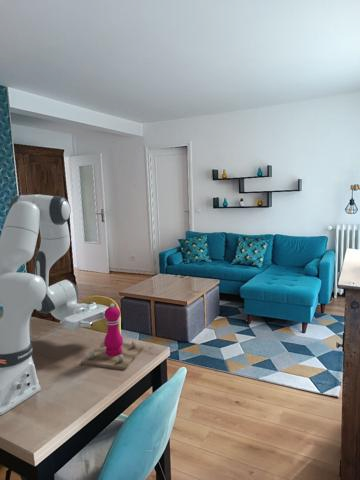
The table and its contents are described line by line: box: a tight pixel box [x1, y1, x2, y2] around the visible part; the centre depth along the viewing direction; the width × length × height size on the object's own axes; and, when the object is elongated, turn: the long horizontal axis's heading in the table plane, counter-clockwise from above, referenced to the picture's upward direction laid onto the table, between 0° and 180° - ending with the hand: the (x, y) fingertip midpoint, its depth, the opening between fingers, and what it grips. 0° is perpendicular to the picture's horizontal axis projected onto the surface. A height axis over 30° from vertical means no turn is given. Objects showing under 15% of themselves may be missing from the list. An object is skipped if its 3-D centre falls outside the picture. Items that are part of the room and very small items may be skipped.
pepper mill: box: [104, 303, 124, 356], centre depth 134 cm, size 7×7×20 cm
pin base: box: [80, 340, 144, 371], centre depth 135 cm, size 18×18×4 cm
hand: (100, 321), depth 138 cm, fingers open, 8 cm apart
